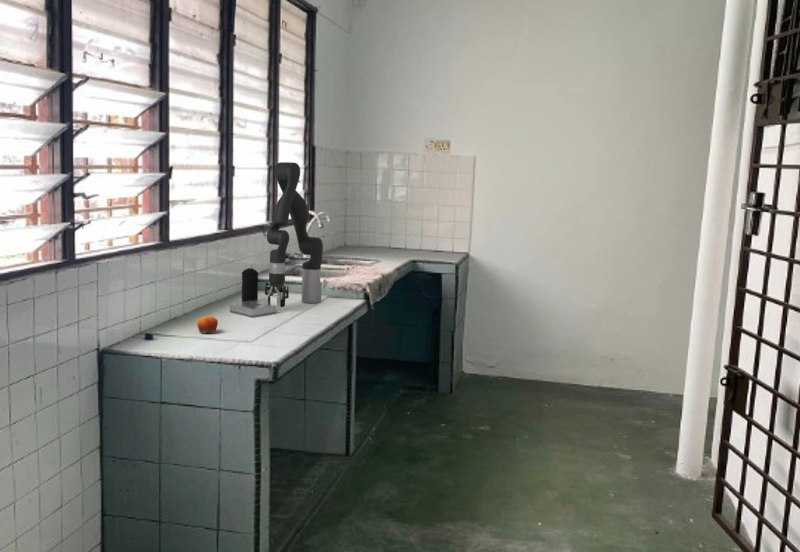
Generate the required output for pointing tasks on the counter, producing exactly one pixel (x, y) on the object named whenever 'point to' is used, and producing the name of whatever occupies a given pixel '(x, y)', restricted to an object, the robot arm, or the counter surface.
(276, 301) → the white plain square block
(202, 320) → the fruit
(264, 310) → the socket
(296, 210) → the robot arm
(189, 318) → the counter surface
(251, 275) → the aerosol can
